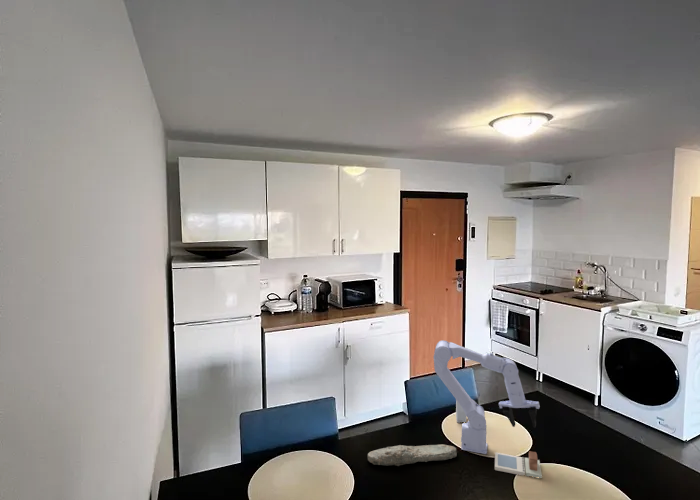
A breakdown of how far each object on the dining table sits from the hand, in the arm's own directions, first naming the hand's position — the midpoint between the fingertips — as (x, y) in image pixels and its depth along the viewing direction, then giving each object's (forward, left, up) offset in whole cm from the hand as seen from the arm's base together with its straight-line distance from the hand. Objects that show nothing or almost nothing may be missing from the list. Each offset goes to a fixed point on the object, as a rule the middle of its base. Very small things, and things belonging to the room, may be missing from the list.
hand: (524, 426), depth 151 cm
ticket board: (-5, -10, -11) cm, 16 cm away
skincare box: (-25, +20, -11) cm, 34 cm away
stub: (+2, -10, -11) cm, 15 cm away
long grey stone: (-39, -18, -12) cm, 45 cm away
